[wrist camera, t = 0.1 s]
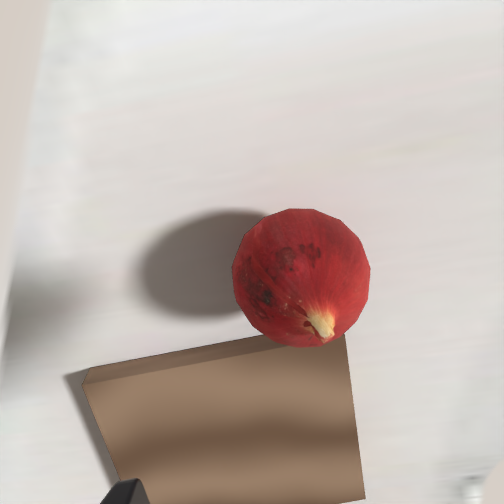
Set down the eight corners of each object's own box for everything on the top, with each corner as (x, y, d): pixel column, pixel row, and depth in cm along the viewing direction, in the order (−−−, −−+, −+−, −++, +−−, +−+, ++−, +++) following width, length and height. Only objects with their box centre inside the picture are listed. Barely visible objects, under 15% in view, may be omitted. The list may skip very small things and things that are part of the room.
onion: (216, 278, 22) (210, 373, 15) (255, 174, 21) (271, 224, 13) (317, 310, 23) (359, 415, 16) (363, 214, 22) (435, 281, 14)
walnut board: (358, 478, 28) (365, 499, 27) (148, 516, 28) (144, 539, 27) (337, 320, 24) (344, 335, 22) (90, 368, 24) (81, 385, 23)
